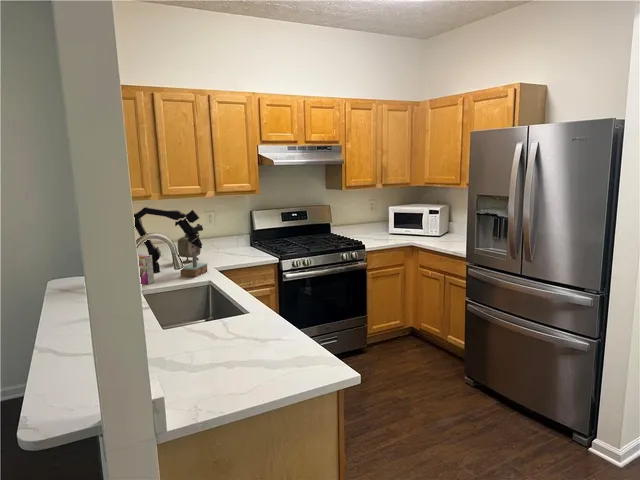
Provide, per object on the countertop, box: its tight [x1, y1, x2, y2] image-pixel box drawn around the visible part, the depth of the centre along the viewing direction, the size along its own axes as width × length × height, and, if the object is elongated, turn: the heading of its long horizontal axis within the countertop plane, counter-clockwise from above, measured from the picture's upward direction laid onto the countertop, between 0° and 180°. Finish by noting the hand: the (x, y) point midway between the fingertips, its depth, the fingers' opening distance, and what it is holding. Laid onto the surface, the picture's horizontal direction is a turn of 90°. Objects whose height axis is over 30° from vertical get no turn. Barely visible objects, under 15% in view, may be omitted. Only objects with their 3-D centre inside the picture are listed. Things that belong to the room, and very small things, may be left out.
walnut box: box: [179, 264, 208, 278], centre depth 267 cm, size 14×10×4 cm
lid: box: [183, 252, 208, 270], centre depth 266 cm, size 14×10×10 cm
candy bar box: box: [137, 253, 155, 285], centre depth 249 cm, size 11×5×16 cm, turn 65°
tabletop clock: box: [177, 233, 202, 264], centre depth 305 cm, size 14×9×25 cm, turn 158°
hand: (201, 246), depth 280 cm, fingers open, 9 cm apart
